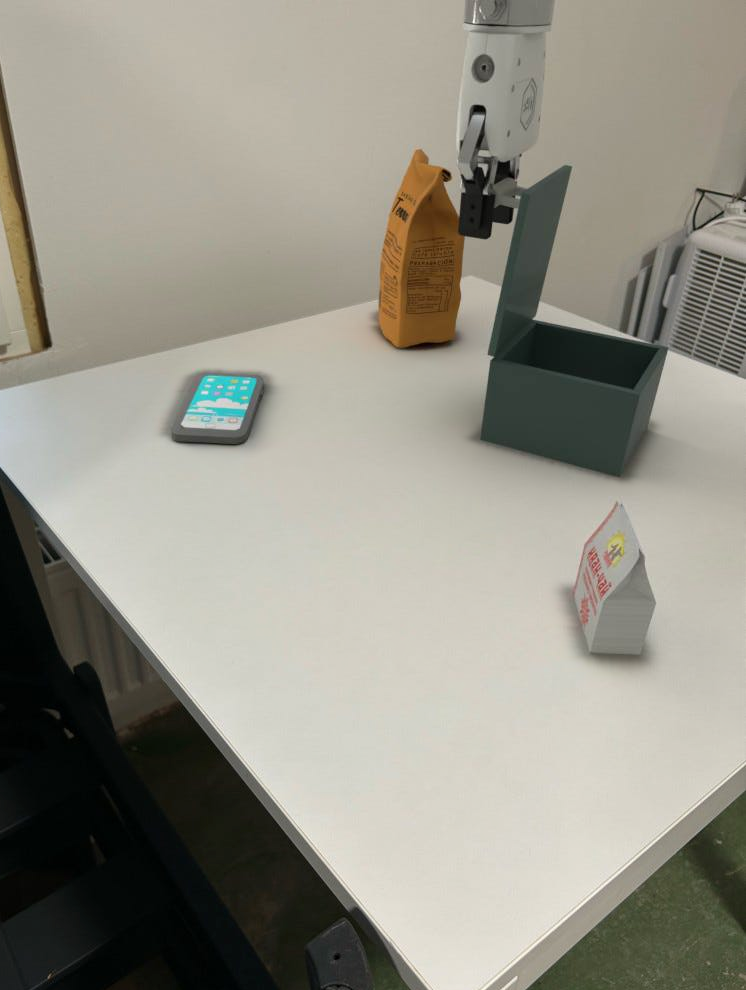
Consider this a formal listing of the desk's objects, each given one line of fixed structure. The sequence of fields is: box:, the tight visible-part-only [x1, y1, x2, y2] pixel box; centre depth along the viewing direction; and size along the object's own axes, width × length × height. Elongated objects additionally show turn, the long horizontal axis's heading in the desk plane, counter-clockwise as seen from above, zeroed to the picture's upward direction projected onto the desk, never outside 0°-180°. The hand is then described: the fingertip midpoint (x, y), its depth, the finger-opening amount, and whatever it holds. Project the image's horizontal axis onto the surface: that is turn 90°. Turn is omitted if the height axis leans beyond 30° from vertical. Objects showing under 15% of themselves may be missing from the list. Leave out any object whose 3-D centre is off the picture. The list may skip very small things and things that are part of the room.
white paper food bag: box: [572, 500, 657, 656], centre depth 61 cm, size 4×7×10 cm, turn 178°
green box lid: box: [487, 164, 573, 358], centre depth 81 cm, size 15×13×6 cm
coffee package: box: [378, 148, 466, 349], centre depth 105 cm, size 10×12×22 cm
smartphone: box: [170, 372, 265, 445], centre depth 93 cm, size 9×1×15 cm
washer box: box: [479, 318, 669, 478], centre depth 86 cm, size 15×13×10 cm
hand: (485, 227), depth 81 cm, fingers closed on green box lid, 5 cm apart
